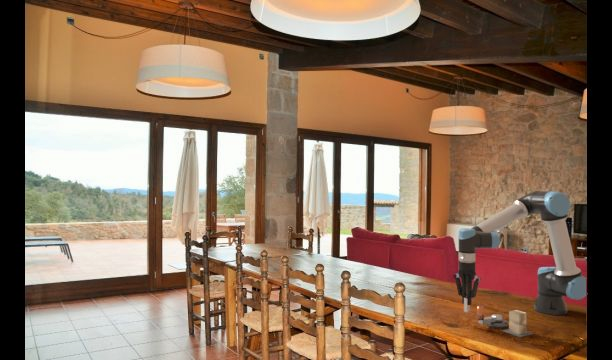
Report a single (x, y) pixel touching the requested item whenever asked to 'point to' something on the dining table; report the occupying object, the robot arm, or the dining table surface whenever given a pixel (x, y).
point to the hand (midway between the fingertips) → (466, 311)
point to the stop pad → (517, 334)
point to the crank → (487, 319)
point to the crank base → (498, 325)
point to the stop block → (517, 322)
